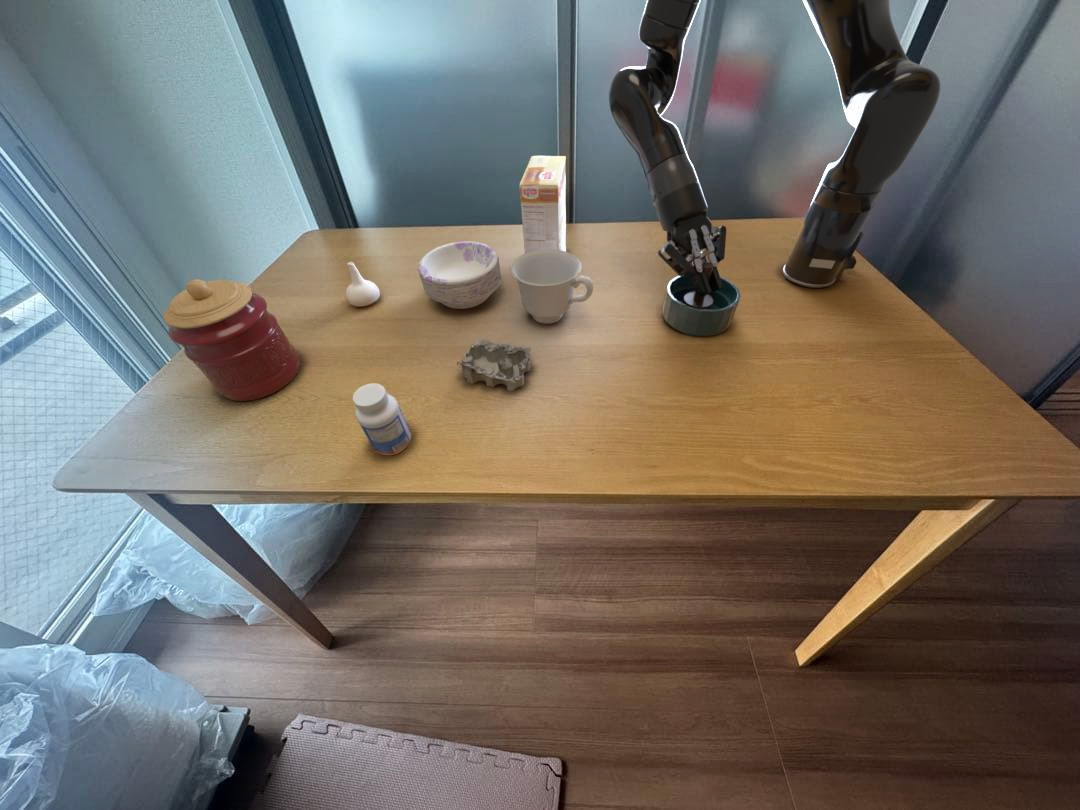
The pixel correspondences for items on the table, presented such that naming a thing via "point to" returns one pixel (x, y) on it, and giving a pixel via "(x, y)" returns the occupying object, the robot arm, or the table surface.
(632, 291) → the table surface
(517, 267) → the teacup
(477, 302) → the paper bowls
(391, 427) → the pill bottle
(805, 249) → the robot arm
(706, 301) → the coffee tamper
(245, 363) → the kitchen canister
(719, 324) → the bowl
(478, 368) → the egg carton
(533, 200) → the coffeecake box
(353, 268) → the garlic bulb
